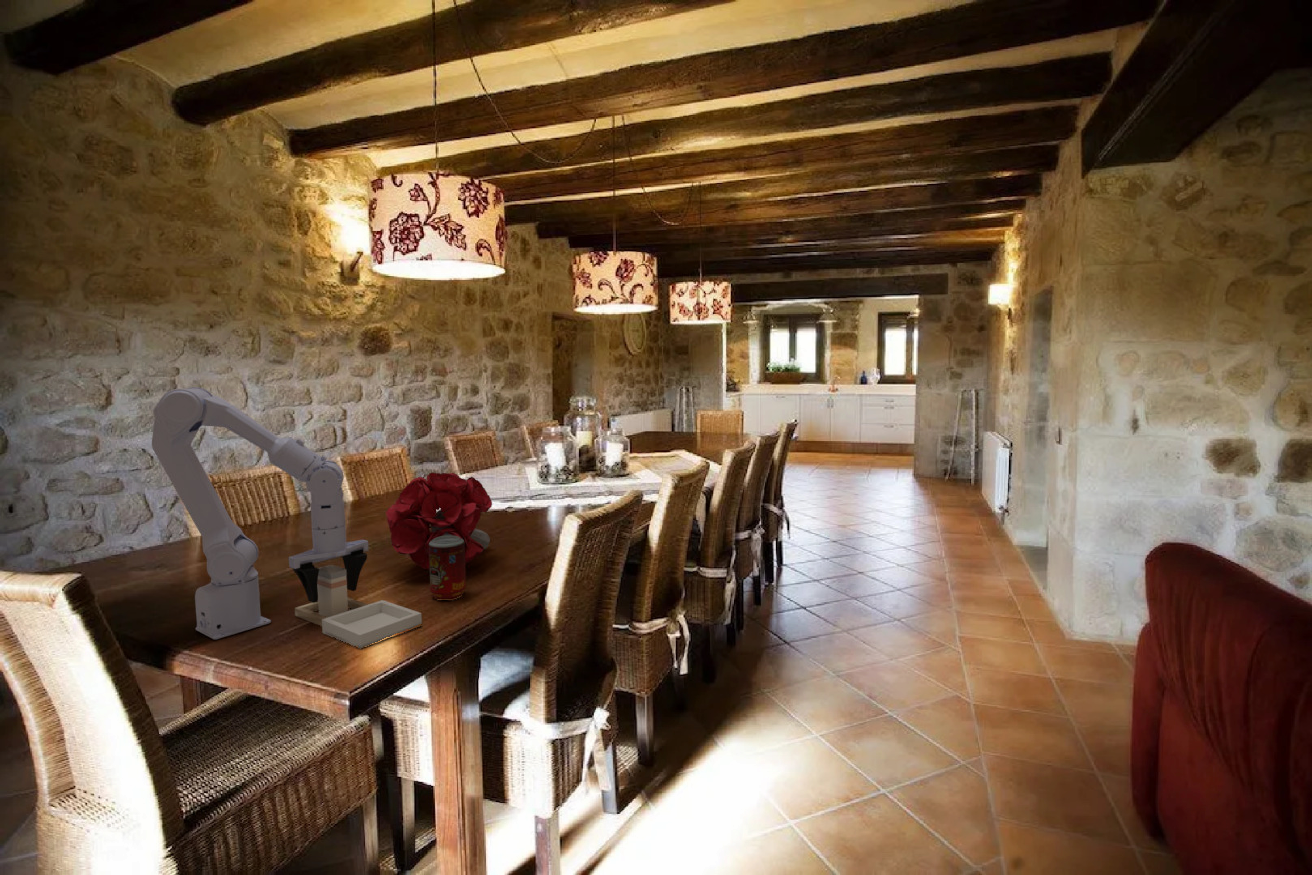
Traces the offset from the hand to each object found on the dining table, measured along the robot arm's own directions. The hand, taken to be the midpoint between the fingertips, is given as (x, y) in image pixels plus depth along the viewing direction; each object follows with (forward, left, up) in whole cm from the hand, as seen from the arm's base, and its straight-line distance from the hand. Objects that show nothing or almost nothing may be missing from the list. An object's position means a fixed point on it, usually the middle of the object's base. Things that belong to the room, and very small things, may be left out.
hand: (332, 595), depth 126 cm
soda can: (+19, -10, -4) cm, 22 cm away
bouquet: (+33, +7, -4) cm, 34 cm away
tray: (0, -13, -4) cm, 14 cm away
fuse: (0, 0, -4) cm, 4 cm away
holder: (0, 0, -4) cm, 4 cm away
